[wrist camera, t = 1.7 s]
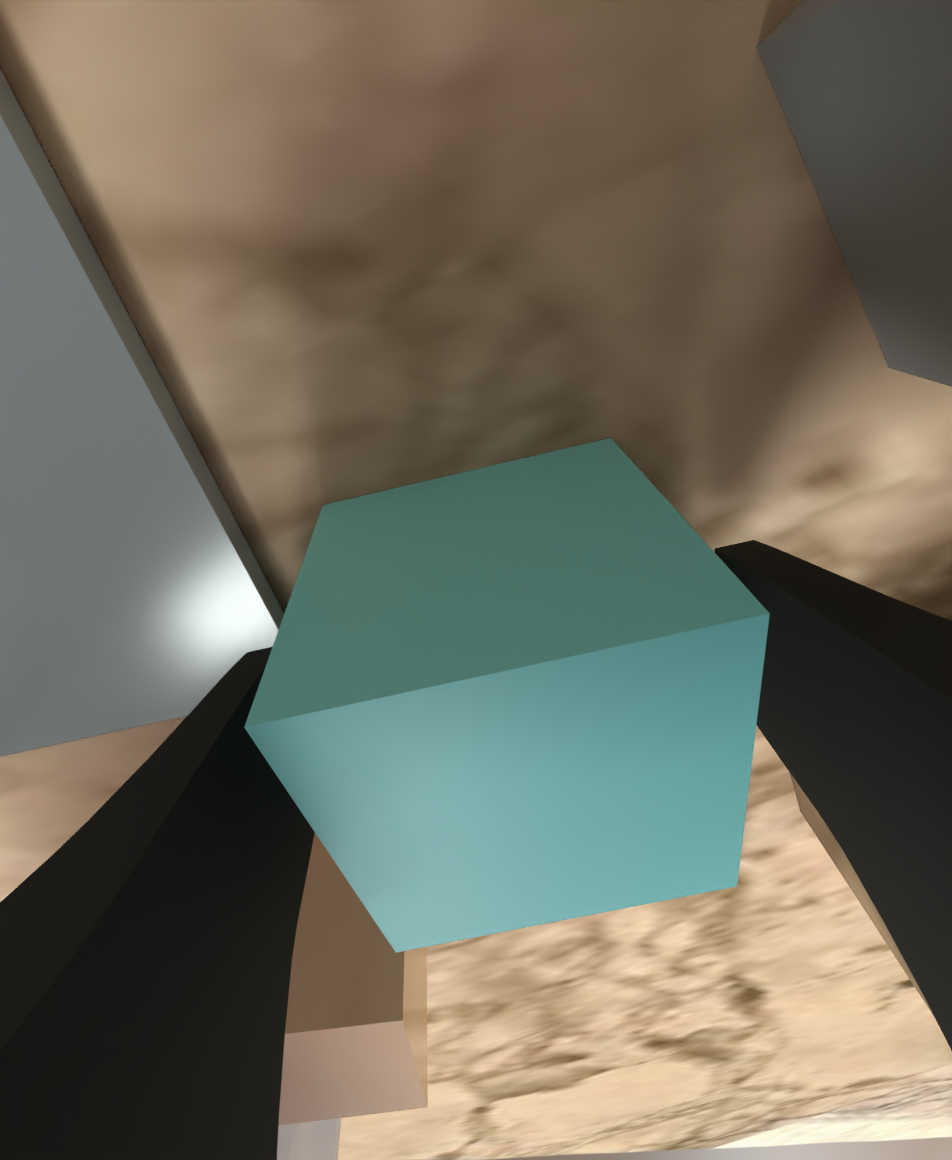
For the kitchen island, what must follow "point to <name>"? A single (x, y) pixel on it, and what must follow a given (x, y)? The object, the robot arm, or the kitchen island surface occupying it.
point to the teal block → (516, 697)
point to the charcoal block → (879, 157)
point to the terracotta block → (350, 1009)
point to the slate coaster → (99, 495)
